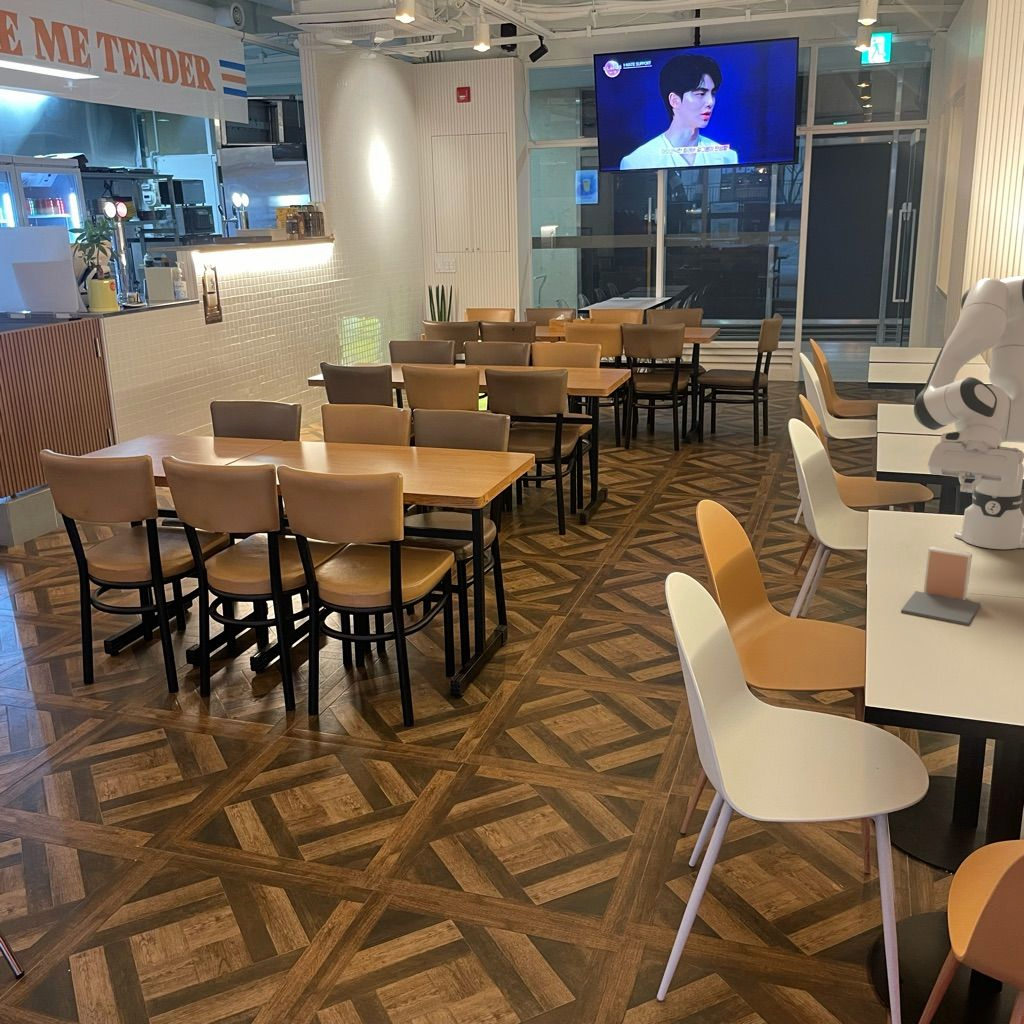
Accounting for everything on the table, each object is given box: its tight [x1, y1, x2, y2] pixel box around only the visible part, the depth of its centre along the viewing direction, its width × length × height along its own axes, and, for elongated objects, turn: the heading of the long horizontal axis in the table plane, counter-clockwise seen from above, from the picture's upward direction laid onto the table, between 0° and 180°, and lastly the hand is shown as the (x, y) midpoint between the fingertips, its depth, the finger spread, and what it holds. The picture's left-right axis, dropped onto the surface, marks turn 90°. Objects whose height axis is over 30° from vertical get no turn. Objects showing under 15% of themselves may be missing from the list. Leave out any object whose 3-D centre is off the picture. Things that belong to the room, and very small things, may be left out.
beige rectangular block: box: [923, 545, 973, 600], centre depth 230 cm, size 3×9×11 cm, turn 56°
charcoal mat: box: [900, 590, 981, 626], centre depth 223 cm, size 14×14×1 cm
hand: (966, 490), depth 239 cm, fingers closed
